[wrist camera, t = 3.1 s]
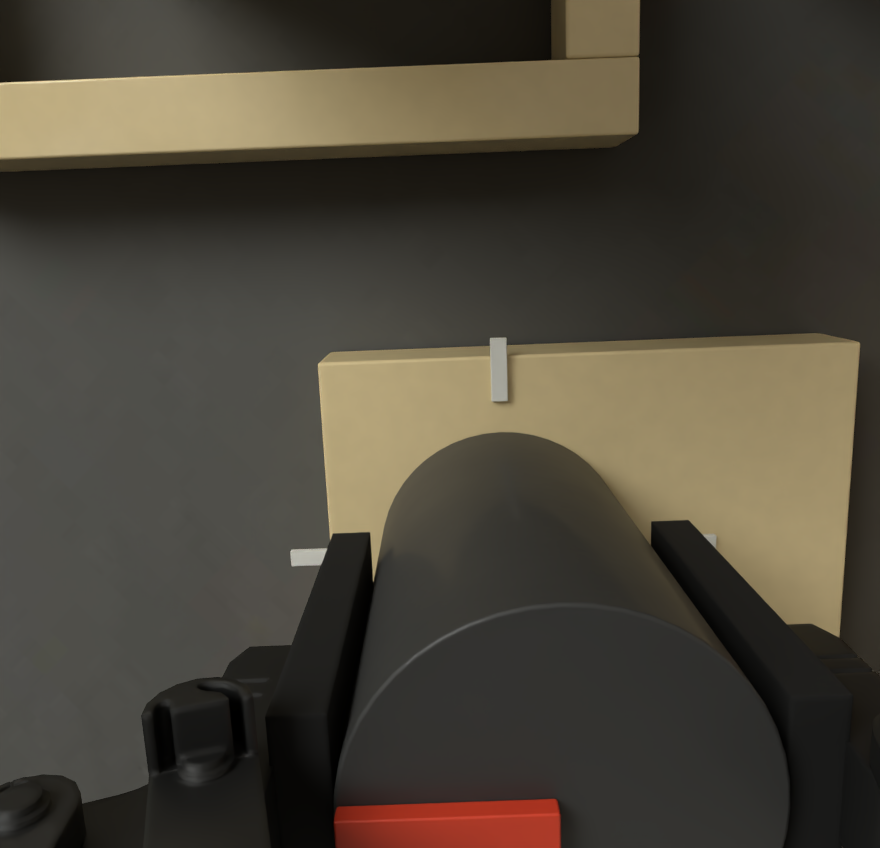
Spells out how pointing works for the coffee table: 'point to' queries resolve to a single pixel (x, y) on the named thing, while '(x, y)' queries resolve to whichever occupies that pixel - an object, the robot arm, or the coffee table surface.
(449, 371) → the panel
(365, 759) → the burner knob
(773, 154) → the coffee table surface
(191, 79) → the square frame
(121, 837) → the robot arm
